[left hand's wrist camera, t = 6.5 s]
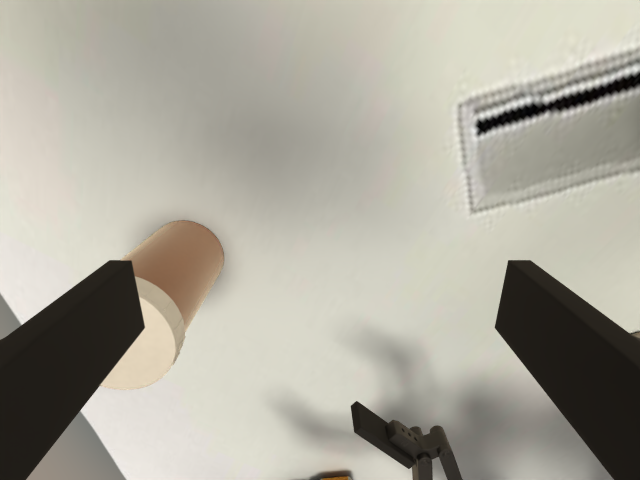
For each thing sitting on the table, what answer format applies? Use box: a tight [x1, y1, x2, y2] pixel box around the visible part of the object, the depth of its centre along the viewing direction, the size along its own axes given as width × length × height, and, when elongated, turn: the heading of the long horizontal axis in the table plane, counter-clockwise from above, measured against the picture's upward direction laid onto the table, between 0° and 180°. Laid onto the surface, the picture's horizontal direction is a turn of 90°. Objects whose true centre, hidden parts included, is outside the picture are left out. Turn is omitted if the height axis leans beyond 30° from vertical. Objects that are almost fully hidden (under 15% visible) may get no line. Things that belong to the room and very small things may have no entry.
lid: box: [100, 276, 185, 390], centre depth 27 cm, size 9×9×2 cm
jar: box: [121, 221, 224, 332], centre depth 34 cm, size 8×8×16 cm
